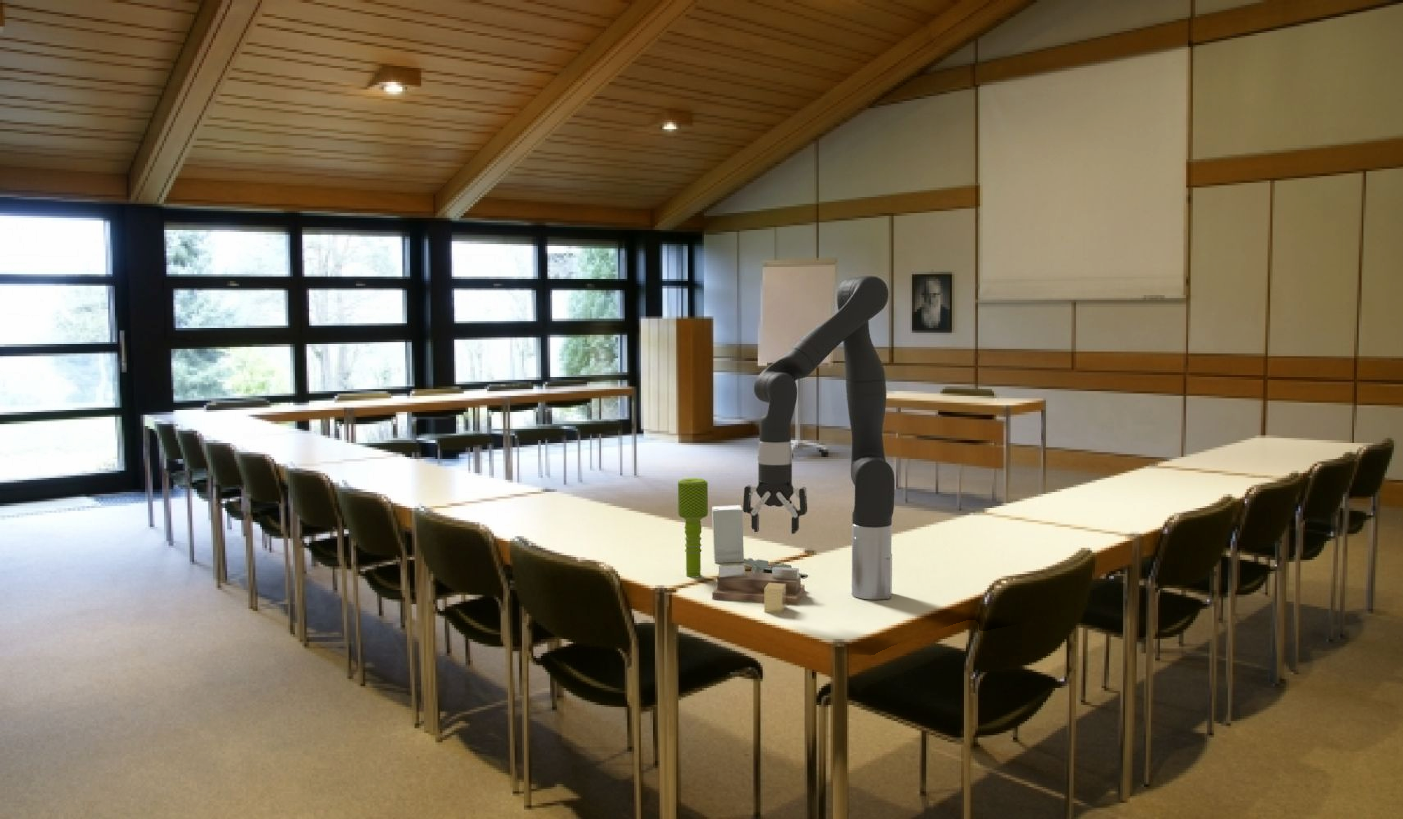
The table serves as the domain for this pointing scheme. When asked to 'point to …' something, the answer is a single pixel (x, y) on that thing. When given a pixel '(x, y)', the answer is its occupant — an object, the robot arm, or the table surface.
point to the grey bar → (776, 572)
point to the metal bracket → (765, 565)
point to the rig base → (753, 596)
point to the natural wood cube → (775, 598)
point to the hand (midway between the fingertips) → (775, 532)
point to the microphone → (693, 519)
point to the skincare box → (728, 533)
